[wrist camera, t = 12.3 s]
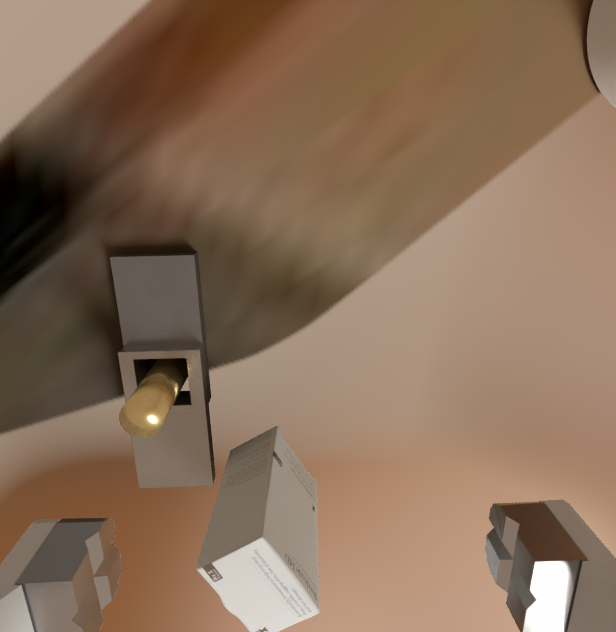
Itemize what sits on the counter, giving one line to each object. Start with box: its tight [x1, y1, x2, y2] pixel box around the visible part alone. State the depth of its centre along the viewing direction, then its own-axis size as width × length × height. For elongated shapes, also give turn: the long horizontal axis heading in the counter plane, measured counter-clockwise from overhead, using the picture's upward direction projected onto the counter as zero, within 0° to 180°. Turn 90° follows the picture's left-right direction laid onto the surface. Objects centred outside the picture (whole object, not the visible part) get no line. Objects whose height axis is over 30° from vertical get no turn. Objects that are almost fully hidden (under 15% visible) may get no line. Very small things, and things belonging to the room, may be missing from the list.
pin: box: [119, 358, 188, 438], centre depth 38 cm, size 3×3×9 cm
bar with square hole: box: [110, 252, 215, 488], centre depth 41 cm, size 7×22×3 cm, turn 1°
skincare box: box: [196, 426, 320, 632], centre depth 39 cm, size 8×6×15 cm
